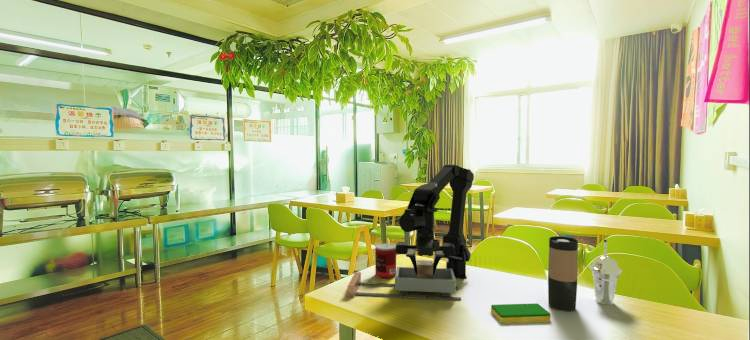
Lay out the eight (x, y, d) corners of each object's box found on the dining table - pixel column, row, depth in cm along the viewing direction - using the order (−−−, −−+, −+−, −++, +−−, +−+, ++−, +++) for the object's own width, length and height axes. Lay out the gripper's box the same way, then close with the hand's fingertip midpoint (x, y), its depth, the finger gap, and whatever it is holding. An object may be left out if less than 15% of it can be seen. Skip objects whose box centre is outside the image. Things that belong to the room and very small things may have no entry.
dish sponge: (490, 312, 103) (490, 304, 103) (537, 311, 104) (537, 303, 104) (500, 324, 96) (501, 315, 96) (551, 322, 97) (551, 313, 97)
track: (457, 286, 122) (457, 276, 122) (461, 302, 109) (461, 290, 109) (355, 282, 126) (355, 272, 126) (348, 296, 114) (348, 285, 113)
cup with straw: (627, 303, 108) (629, 237, 107) (610, 310, 104) (612, 241, 103) (598, 294, 116) (599, 232, 115) (581, 299, 111) (582, 235, 110)
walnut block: (432, 275, 119) (432, 260, 119) (432, 280, 114) (433, 265, 114) (417, 275, 120) (417, 260, 119) (417, 280, 115) (417, 264, 115)
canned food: (396, 272, 137) (396, 243, 137) (395, 279, 129) (395, 249, 129) (376, 271, 138) (376, 243, 138) (374, 278, 130) (374, 248, 130)
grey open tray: (452, 284, 122) (452, 268, 122) (455, 298, 110) (455, 280, 110) (397, 282, 124) (397, 266, 124) (394, 295, 112) (394, 278, 112)
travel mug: (573, 303, 109) (575, 237, 108) (579, 313, 102) (580, 243, 101) (546, 299, 111) (547, 235, 110) (549, 309, 104) (550, 241, 103)
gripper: (394, 231, 109) (394, 282, 110) (457, 233, 107) (456, 285, 108) (396, 224, 120) (396, 270, 121) (453, 225, 118) (453, 272, 119)
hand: (424, 274), depth 117 cm, fingers closed on walnut block, 5 cm apart
